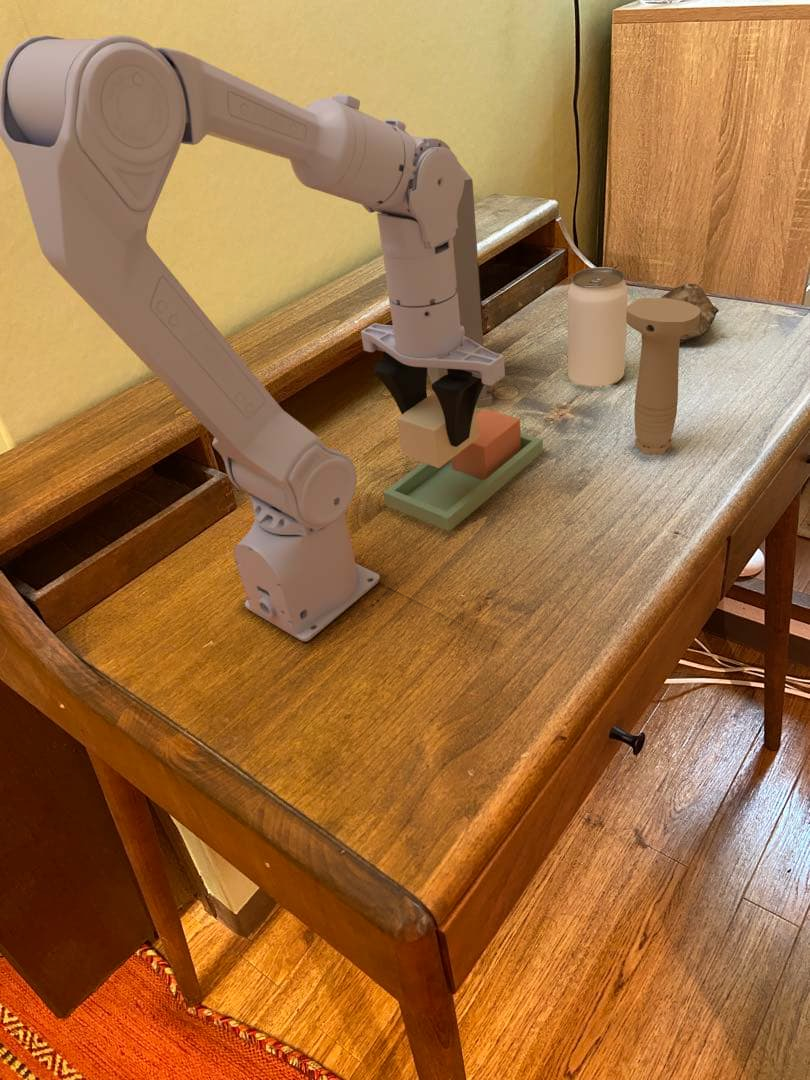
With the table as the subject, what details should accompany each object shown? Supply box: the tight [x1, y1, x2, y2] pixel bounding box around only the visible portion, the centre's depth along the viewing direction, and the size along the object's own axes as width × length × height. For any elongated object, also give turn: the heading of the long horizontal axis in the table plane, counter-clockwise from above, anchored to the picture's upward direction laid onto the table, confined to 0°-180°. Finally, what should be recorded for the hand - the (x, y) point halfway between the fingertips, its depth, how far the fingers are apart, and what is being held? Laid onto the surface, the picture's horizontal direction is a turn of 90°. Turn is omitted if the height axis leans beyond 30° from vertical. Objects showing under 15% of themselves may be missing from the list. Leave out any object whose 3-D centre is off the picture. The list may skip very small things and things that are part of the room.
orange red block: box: [451, 408, 521, 480], centre depth 83 cm, size 6×4×4 cm
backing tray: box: [382, 431, 544, 532], centre depth 82 cm, size 16×8×2 cm, turn 139°
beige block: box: [396, 391, 479, 468], centre depth 76 cm, size 6×4×4 cm
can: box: [567, 266, 629, 387], centre depth 93 cm, size 6×6×12 cm
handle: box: [626, 297, 701, 456], centre depth 78 cm, size 5×6×15 cm
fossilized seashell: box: [660, 283, 720, 343], centre depth 101 cm, size 8×7×10 cm
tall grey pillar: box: [427, 162, 494, 409], centre depth 91 cm, size 14×6×25 cm, turn 8°
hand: (439, 434), depth 76 cm, fingers closed on beige block, 4 cm apart
